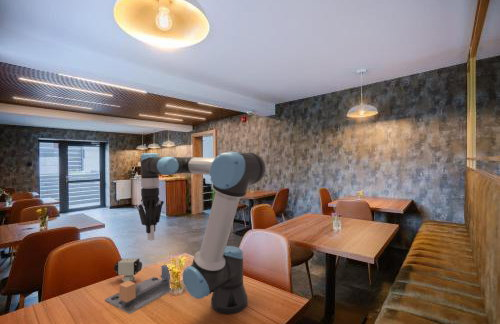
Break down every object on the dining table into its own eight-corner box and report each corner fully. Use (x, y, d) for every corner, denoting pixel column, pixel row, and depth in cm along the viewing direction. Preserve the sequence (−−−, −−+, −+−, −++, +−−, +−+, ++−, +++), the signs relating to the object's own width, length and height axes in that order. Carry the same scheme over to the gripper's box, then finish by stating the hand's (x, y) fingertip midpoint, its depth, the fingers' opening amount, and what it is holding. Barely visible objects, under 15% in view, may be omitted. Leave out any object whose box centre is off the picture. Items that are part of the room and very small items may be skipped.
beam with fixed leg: (172, 284, 118) (171, 266, 118) (126, 308, 99) (126, 287, 99) (163, 280, 121) (163, 264, 121) (118, 303, 102) (117, 283, 102)
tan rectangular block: (135, 302, 102) (135, 283, 102) (126, 307, 98) (126, 287, 98) (126, 298, 105) (126, 279, 105) (117, 302, 102) (117, 283, 102)
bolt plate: (177, 287, 116) (177, 285, 116) (129, 314, 96) (129, 312, 96) (153, 278, 126) (153, 276, 126) (105, 300, 106) (105, 298, 106)
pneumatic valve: (138, 284, 119) (137, 260, 119) (114, 284, 119) (113, 260, 119) (143, 279, 125) (143, 255, 125) (120, 279, 125) (120, 255, 125)
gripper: (157, 185, 118) (157, 234, 118) (131, 188, 107) (132, 242, 107) (167, 186, 114) (168, 237, 114) (142, 189, 103) (143, 245, 103)
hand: (150, 239), depth 111 cm, fingers closed
